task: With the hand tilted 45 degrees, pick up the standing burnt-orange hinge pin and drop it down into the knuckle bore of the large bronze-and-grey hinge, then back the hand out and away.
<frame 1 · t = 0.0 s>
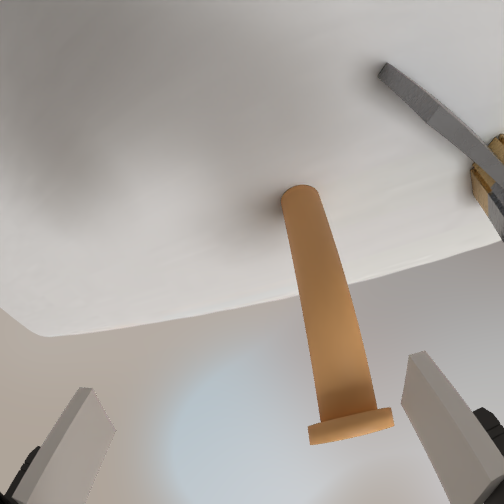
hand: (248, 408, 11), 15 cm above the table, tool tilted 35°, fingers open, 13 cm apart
hinge leaf a: (500, 167, 21), on the table
hinge pin: (300, 200, 24), on the table
hinge leaf b: (500, 167, 21), on the table
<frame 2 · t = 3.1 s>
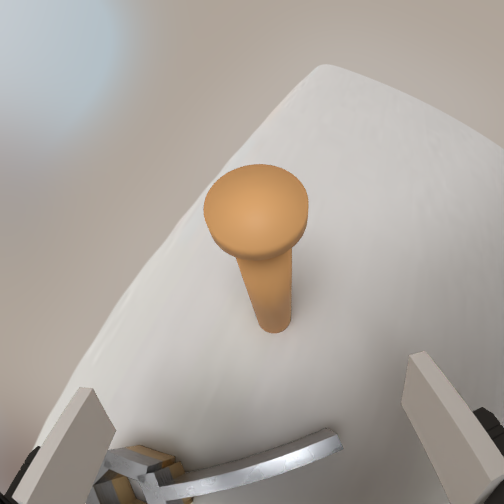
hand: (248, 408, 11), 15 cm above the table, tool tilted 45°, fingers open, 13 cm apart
hinge leaf a: (151, 484, 21), on the table
hinge pin: (274, 317, 28), on the table
hinge leaf b: (151, 484, 21), on the table
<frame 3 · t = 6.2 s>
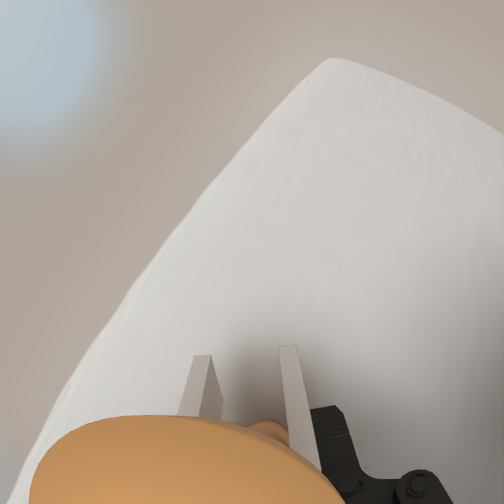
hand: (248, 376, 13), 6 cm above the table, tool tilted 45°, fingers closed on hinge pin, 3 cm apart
hinge pin: (266, 442, 17), on the table, touching gripper
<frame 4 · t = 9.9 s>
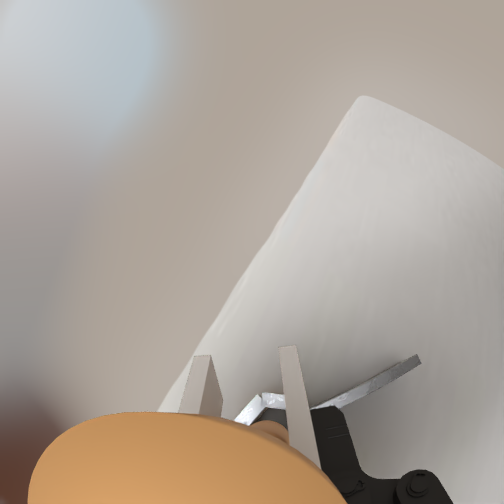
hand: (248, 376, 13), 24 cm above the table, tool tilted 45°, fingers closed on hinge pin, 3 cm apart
hinge pin: (266, 442, 17), point 18 cm above the table, touching gripper
hinge leaf b: (276, 426, 32), on the table
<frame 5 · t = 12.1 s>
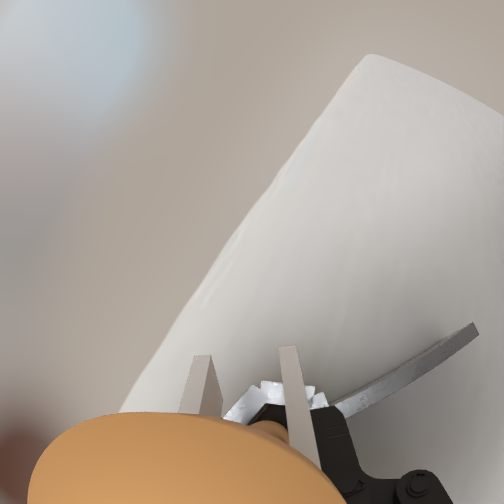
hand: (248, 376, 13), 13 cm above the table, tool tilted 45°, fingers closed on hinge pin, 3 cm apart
hinge pin: (266, 442, 17), point 7 cm above the table, touching gripper
hinge leaf b: (281, 430, 23), on the table
when the fingers open (8 cm above the table, at t = 13.8 s): hinge pin drops 1 cm, resting in hinge leaf a.
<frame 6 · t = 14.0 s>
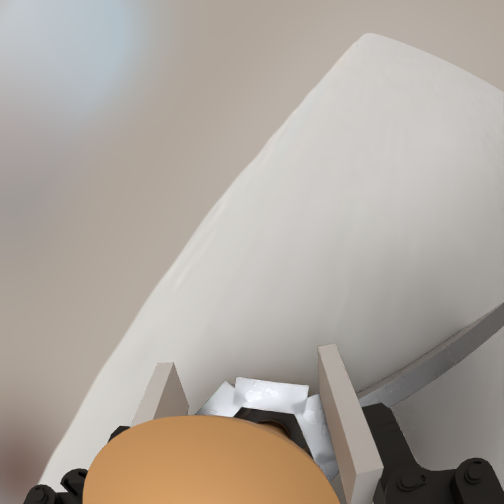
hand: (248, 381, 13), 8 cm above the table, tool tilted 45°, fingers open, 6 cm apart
hinge pin: (267, 440, 18), resting in hinge leaf a
hinge leaf b: (267, 440, 18), on the table
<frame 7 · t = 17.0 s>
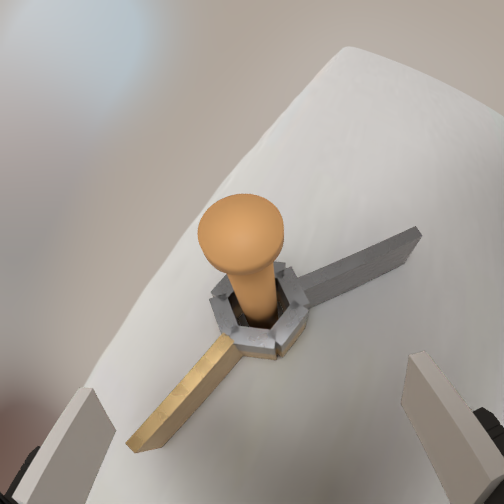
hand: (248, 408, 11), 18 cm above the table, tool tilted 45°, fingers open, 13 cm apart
hinge leaf a: (263, 321, 31), on the table
hinge pin: (263, 321, 31), resting in hinge leaf a
hinge leaf b: (263, 321, 31), on the table
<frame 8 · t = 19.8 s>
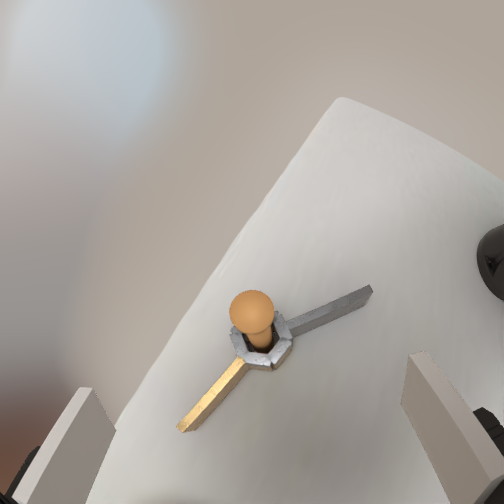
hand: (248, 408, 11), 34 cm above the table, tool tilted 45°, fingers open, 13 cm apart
hinge leaf a: (263, 345, 45), on the table
hinge pin: (263, 345, 45), resting in hinge leaf a
hinge leaf b: (263, 345, 45), on the table
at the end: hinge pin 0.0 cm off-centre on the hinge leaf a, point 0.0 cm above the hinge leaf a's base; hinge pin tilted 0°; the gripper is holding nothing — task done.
